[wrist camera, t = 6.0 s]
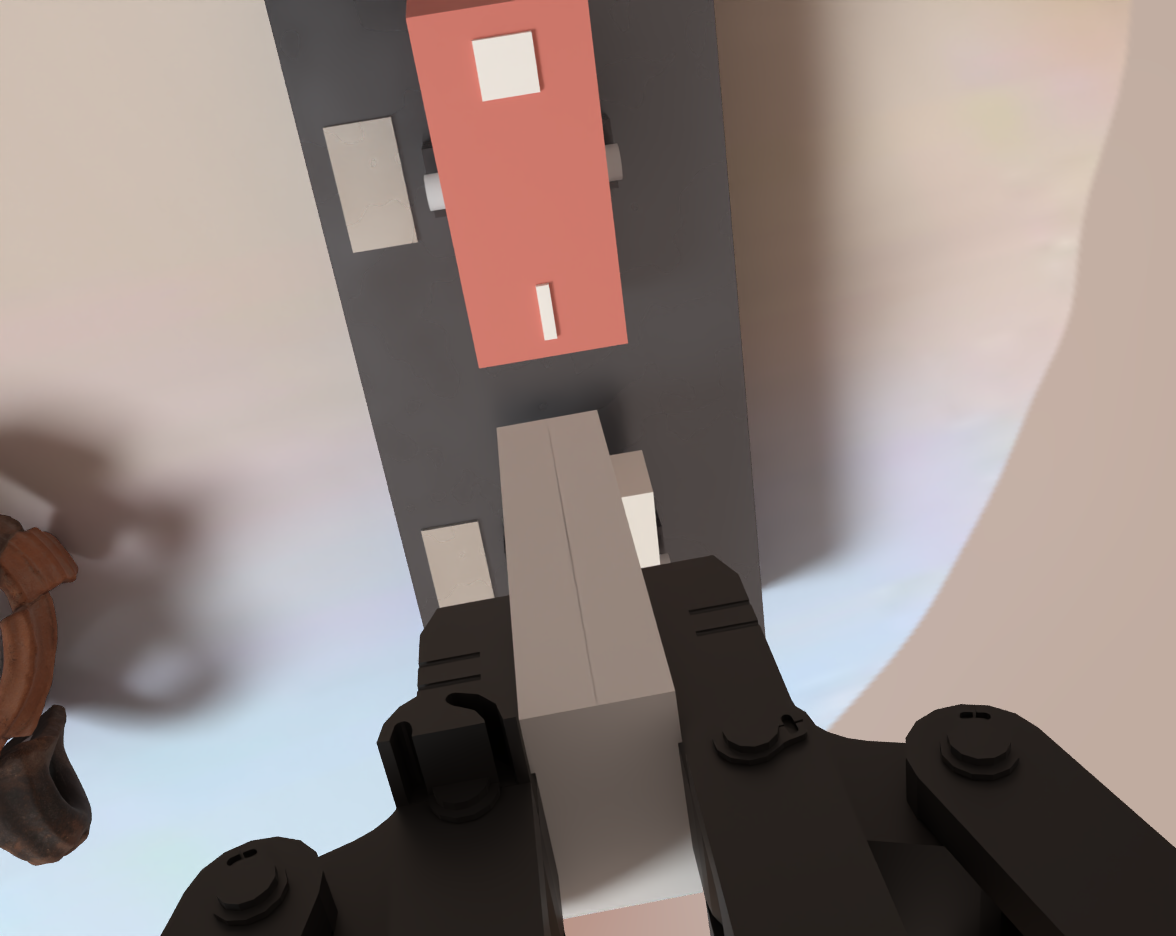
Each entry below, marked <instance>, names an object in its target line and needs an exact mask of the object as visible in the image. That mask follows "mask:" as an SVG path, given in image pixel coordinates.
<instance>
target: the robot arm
mask: <svg viewBox="0 0 1176 936" xmlns="http://www.w3.org/2000/svg"><path fill="white" fill-rule="evenodd" d="M497 440H498V454H499V467H500V480H501V493H502V506H503V519H504V532H505V545H506V558H507V571H508V584H509V595H507V596H501V597H496V598H490V599H485V600H479V601H474V602H468V603H463V604H457V605H452V606H447V607H441V608H437V610H436V611H435V613H434V614H433V616H432V617H431V619H430V621H429V622H428V624H427V625H426V627H425V628H424V630H423V631H422V633H421V635H420V644H419V668H418V684H417V686H418V691H417V697H415V698H413V699H412V700H410V701H408V702H407V703H405V704H403V705H402V706H400V707H399V708H398V709H397V710H396V711H395V712H394V713H393V714H392V715H391V717H390V718H389V719H388V720H387V721H386V722H385V723H384V724H383V727H382V730H381V732H380V735H379V738H378V741H377V746H378V749H379V752H380V756H381V759H382V762H383V765H384V769H385V772H386V775H387V778H388V782H389V785H390V788H391V791H392V795H393V798H394V801H395V804H396V810H395V812H394V813H393V814H392V815H391V816H390V817H389V818H388V819H387V820H386V821H384V822H383V823H382V824H381V825H379V826H378V827H377V828H375V829H374V830H373V831H371V832H369V833H367V834H366V835H364V836H362V837H360V838H358V839H357V840H355V841H353V842H351V843H348V844H346V845H344V846H342V847H339V848H337V849H335V850H333V851H331V852H328V853H326V854H324V855H322V856H319V857H318V855H317V852H316V851H314V850H313V849H311V848H310V847H309V846H307V845H306V844H305V843H303V842H302V841H301V840H295V839H289V838H283V837H272V838H266V839H259V840H253V841H250V842H247V843H245V844H243V845H241V846H238V847H236V848H234V849H231V850H229V851H227V852H225V853H223V854H222V855H221V856H219V857H218V858H217V859H215V860H214V861H213V862H212V863H210V864H209V865H208V866H206V867H205V868H204V869H202V870H201V871H200V873H199V874H198V875H197V877H196V878H195V879H194V880H193V882H192V883H191V884H190V886H189V887H188V888H187V889H186V891H185V892H184V894H183V896H182V898H181V899H180V901H179V903H178V905H177V907H176V908H175V910H174V912H173V914H172V916H171V918H170V919H169V921H168V923H167V925H166V927H165V929H164V930H163V932H162V934H161V936H565V932H564V925H563V918H564V919H565V918H571V917H575V916H581V915H586V914H591V913H597V912H602V911H607V910H613V909H617V908H623V907H628V906H634V905H638V904H643V903H649V902H654V901H660V900H665V899H670V898H675V897H681V896H686V895H691V894H696V893H702V892H703V891H704V895H705V899H706V906H707V913H708V920H709V928H710V935H711V936H1176V848H1175V847H1174V846H1172V845H1171V844H1170V843H1169V842H1168V841H1167V840H1166V839H1165V838H1164V837H1162V836H1161V835H1160V834H1159V833H1158V832H1157V831H1156V830H1154V829H1153V828H1152V827H1151V826H1150V825H1149V824H1147V823H1146V822H1145V821H1144V820H1143V819H1142V818H1141V817H1139V816H1138V815H1137V814H1136V813H1135V812H1134V811H1133V810H1132V809H1130V808H1129V807H1128V806H1127V805H1126V804H1125V803H1124V802H1122V801H1121V800H1120V799H1119V798H1118V797H1117V796H1116V795H1114V794H1113V793H1112V792H1111V791H1110V790H1109V789H1108V788H1107V787H1105V786H1104V785H1103V784H1102V783H1101V782H1099V780H1097V779H1096V778H1095V777H1094V776H1093V775H1092V774H1091V773H1089V772H1088V771H1087V770H1086V769H1085V768H1083V767H1082V766H1081V765H1080V764H1079V763H1078V762H1077V761H1076V760H1075V759H1073V758H1072V757H1071V756H1070V755H1069V754H1068V753H1067V752H1065V751H1064V750H1063V749H1062V748H1061V747H1060V746H1059V745H1057V744H1056V743H1055V742H1054V741H1053V740H1052V739H1051V738H1049V737H1048V736H1047V735H1046V734H1045V733H1044V732H1043V731H1042V730H1040V729H1039V728H1038V727H1036V726H1035V725H1033V724H1032V723H1030V722H1028V721H1027V720H1025V719H1023V718H1022V717H1020V716H1019V715H1017V714H1015V713H1012V712H1008V711H1005V710H1002V709H999V708H995V707H992V706H988V705H987V706H986V705H965V704H960V705H955V706H951V707H946V708H942V709H937V710H934V711H933V712H931V713H929V714H928V715H927V716H924V717H923V718H921V719H919V720H918V721H916V723H915V724H914V726H913V727H912V729H911V731H910V732H909V733H908V735H907V737H906V743H895V742H877V741H865V740H857V739H850V738H845V737H842V736H839V735H836V734H833V733H830V732H827V731H825V730H823V729H821V728H820V727H818V726H816V725H815V724H814V722H813V721H812V720H811V718H810V717H809V716H808V714H807V713H806V712H805V711H803V710H801V709H799V708H798V707H796V706H795V705H794V703H793V702H792V700H791V698H790V695H789V693H788V691H787V688H786V686H785V683H784V681H783V679H782V676H781V674H780V672H779V669H778V667H777V664H776V662H775V660H774V657H773V655H772V653H771V650H770V648H769V646H768V643H767V641H766V638H765V636H764V634H763V631H762V629H761V627H760V625H759V624H758V619H757V617H756V615H755V612H754V610H753V608H752V605H751V604H750V602H749V598H748V596H747V593H746V591H745V589H744V586H743V584H742V581H741V579H740V577H739V574H738V573H736V572H735V571H734V570H732V569H731V568H730V567H728V566H727V565H726V564H724V563H723V562H722V561H720V560H719V559H718V558H716V557H715V556H714V555H710V556H705V557H699V558H694V559H688V560H683V561H678V562H672V563H667V564H661V565H656V566H650V567H645V568H641V566H640V563H639V559H638V556H637V552H636V549H635V545H634V541H633V538H632V534H631V531H630V527H629V523H628V520H627V516H626V513H625V509H624V505H623V502H622V498H621V495H620V491H619V487H618V484H617V480H616V477H615V473H614V469H613V466H612V462H611V459H610V455H609V451H608V448H607V444H606V441H605V437H604V433H603V430H602V426H601V423H600V419H599V415H598V412H597V410H593V411H587V412H582V413H576V414H571V415H565V416H559V417H554V418H548V419H543V420H537V421H531V422H526V423H520V424H515V425H509V426H503V427H498V428H497ZM702 887H703V889H702ZM562 913H563V915H562Z"/></svg>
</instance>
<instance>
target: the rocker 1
mask: <svg viewBox="0 0 1176 936" xmlns="http://www.w3.org/2000/svg"><path fill="white" fill-rule="evenodd" d="M406 22H407V27H408V32H409V37H410V42H411V46H412V51H413V56H414V61H415V65H416V70H417V75H418V80H419V84H420V89H421V94H422V99H423V104H424V108H425V113H426V118H427V123H428V127H429V132H430V137H431V142H432V146H433V151H434V156H435V161H436V166H437V170H438V173H433V174H427V175H424V183H425V189H426V195H427V199H428V204H429V208H430V211H434V210H440V209H446V213H447V218H448V223H449V228H450V232H451V237H452V242H453V247H454V251H455V256H456V261H457V266H458V270H459V275H460V280H461V285H462V290H463V294H464V299H465V304H466V309H467V313H468V318H469V323H470V328H471V332H472V337H473V342H474V347H475V352H476V356H477V361H478V366H479V368H485V367H491V366H497V365H503V364H509V363H515V362H520V361H526V360H532V359H538V358H544V357H550V356H556V355H562V354H568V353H573V352H579V351H585V350H591V349H597V348H603V347H609V346H615V345H621V344H626V343H628V339H627V331H626V322H625V313H624V305H623V296H622V288H621V279H620V271H619V262H618V254H617V245H616V237H615V228H614V220H613V211H612V203H611V194H610V186H609V182H610V181H616V180H622V178H623V174H622V164H621V157H620V152H619V147H618V144H617V143H616V144H610V145H605V143H604V134H603V126H602V117H601V109H600V100H599V92H598V83H597V75H596V66H595V58H594V49H593V41H592V32H591V24H590V15H589V6H588V0H407V3H406Z"/></svg>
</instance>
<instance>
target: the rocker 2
mask: <svg viewBox="0 0 1176 936" xmlns="http://www.w3.org/2000/svg"><path fill="white" fill-rule="evenodd" d="M610 459H611V462H612V466H613V469H614V473H615V477H616V480H617V484H618V487H619V491H620V495H621V498H622V502H623V505H624V509H625V513H626V516H627V520H628V523H629V527H630V531H631V534H632V538H633V541H634V545H635V549H636V552H637V556H638V559H639V563H640V566H641V568H645V567H650V566H656V565H661V564H667V563H671V562H670V558H669V555H668V553H666V554H661V555H659V547H658V536H657V526H656V516H655V506H654V496H653V490H652V486H651V482H650V478H649V475H648V471H647V467H646V463H645V460H644V456H643V452H642V450H638V451H633V452H627V453H621V454H615V455H610ZM508 586H509V584H508Z"/></svg>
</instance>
